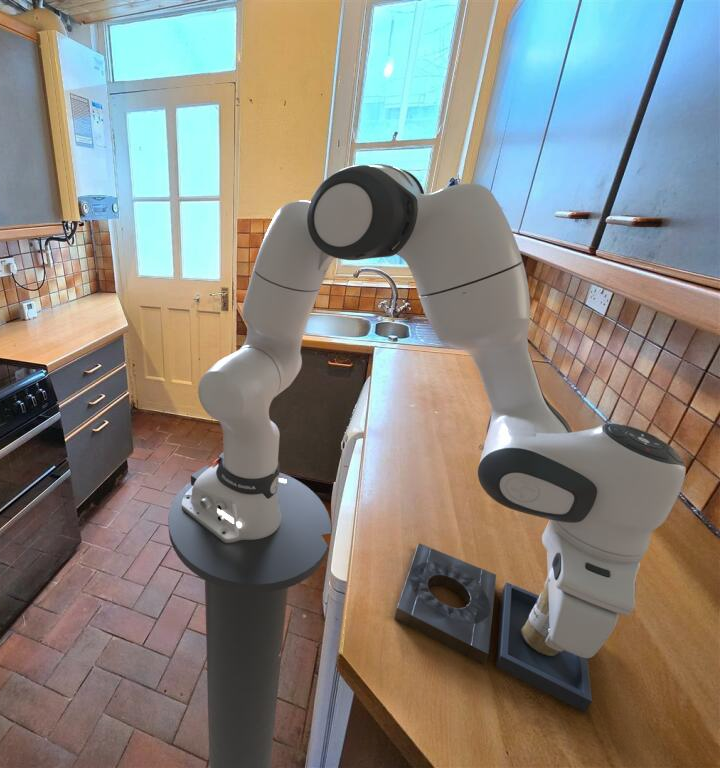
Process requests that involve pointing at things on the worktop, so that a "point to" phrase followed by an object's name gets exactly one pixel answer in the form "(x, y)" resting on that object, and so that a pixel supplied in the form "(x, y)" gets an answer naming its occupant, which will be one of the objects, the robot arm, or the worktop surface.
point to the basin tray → (538, 654)
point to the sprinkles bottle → (539, 623)
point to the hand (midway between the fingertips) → (551, 617)
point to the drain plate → (443, 622)
